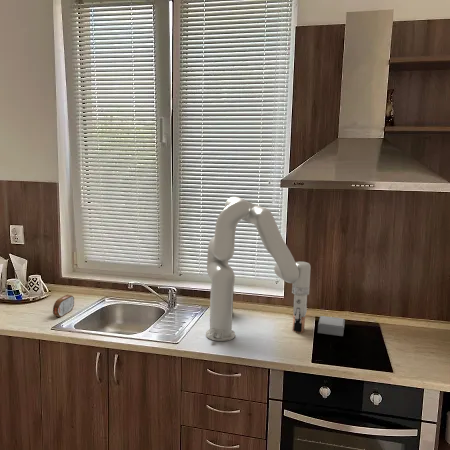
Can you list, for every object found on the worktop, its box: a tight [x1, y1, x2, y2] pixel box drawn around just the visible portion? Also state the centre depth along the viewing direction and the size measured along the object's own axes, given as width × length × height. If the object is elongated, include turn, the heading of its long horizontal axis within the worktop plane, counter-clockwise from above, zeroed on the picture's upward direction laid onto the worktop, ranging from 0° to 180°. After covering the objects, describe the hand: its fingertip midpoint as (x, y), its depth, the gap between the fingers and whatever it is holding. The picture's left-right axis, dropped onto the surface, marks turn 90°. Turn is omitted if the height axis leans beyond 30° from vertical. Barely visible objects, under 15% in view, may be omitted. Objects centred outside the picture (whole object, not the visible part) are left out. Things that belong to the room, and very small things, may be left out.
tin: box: [52, 294, 75, 318], centre depth 214 cm, size 15×3×8 cm, turn 168°
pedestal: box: [317, 315, 346, 337], centre depth 204 cm, size 11×11×4 cm
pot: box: [292, 313, 306, 334], centre depth 202 cm, size 6×6×7 cm
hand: (298, 328), depth 203 cm, fingers closed on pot, 5 cm apart
